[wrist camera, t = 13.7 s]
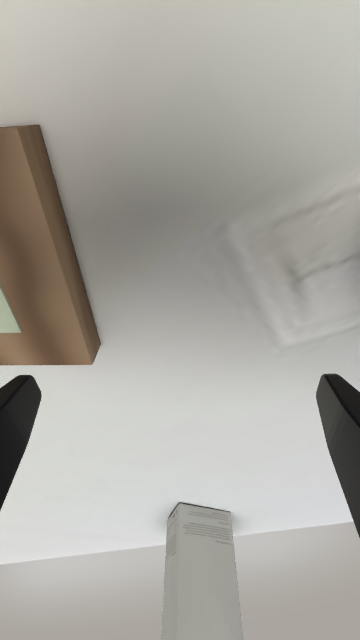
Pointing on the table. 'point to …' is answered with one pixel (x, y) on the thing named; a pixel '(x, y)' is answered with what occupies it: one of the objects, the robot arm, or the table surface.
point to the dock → (38, 263)
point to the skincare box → (200, 577)
